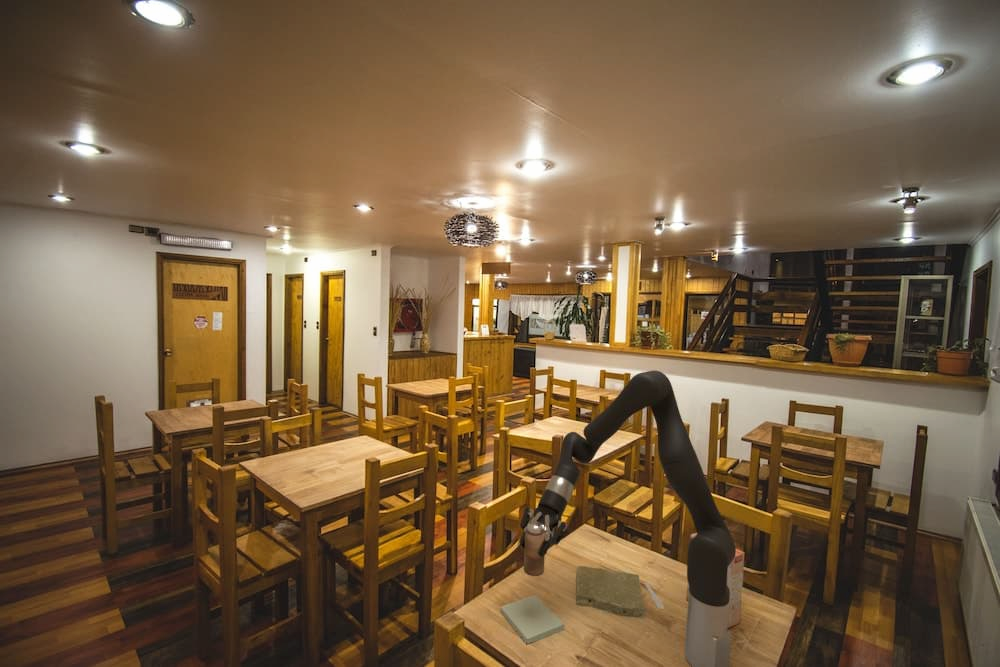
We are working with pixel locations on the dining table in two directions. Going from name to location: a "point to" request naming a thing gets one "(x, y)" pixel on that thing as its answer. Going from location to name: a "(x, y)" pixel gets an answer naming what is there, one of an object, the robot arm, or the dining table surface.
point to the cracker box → (733, 586)
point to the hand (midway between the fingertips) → (530, 550)
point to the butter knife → (655, 597)
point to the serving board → (531, 619)
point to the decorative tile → (609, 591)
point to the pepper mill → (534, 549)
